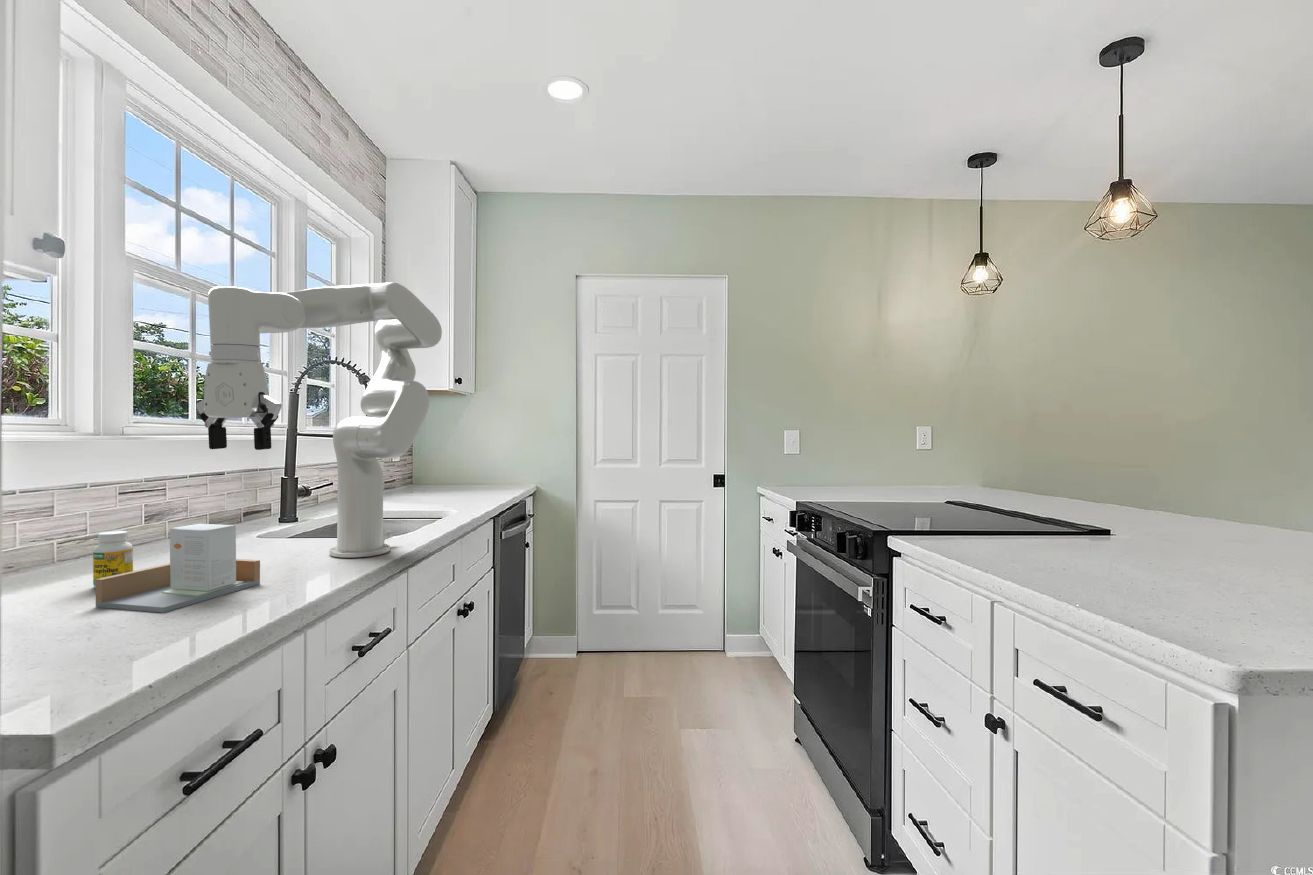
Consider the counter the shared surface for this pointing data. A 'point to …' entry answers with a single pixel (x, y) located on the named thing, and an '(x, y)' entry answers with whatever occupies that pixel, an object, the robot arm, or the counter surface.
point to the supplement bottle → (112, 555)
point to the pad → (196, 592)
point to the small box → (202, 556)
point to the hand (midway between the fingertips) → (240, 448)
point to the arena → (162, 588)
